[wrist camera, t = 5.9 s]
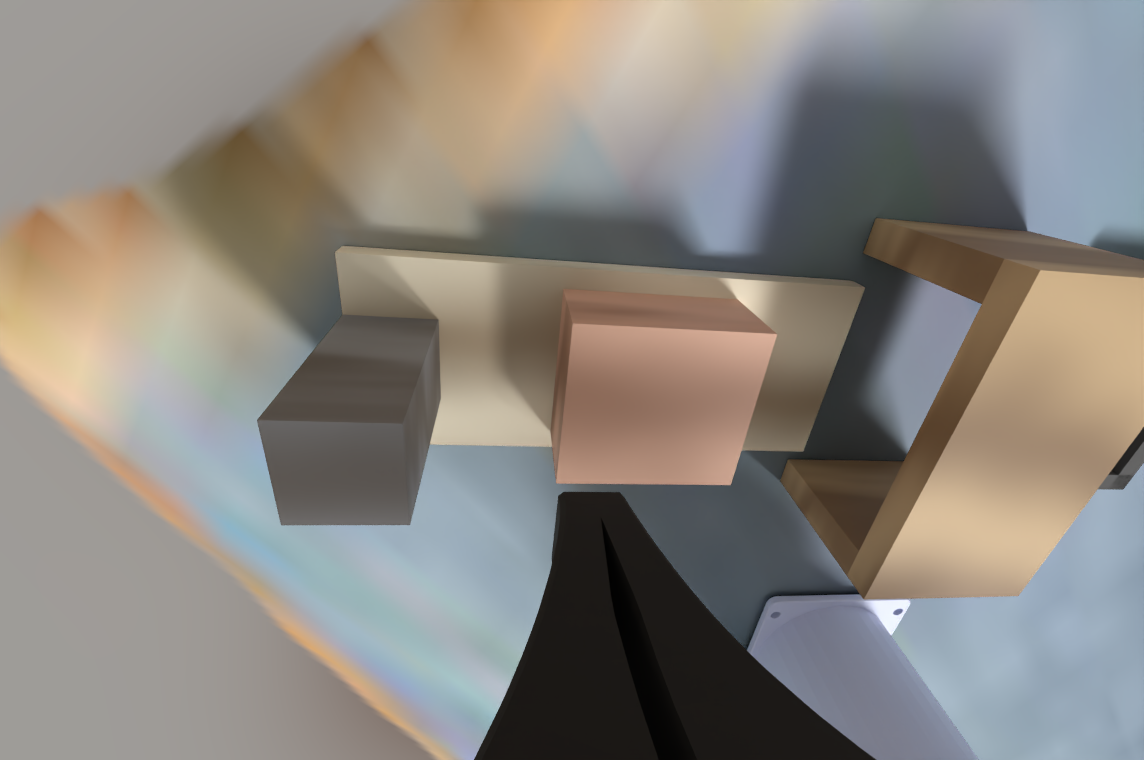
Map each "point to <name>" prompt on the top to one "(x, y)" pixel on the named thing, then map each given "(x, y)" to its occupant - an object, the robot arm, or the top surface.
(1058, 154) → the top surface
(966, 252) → the tunnel
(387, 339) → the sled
